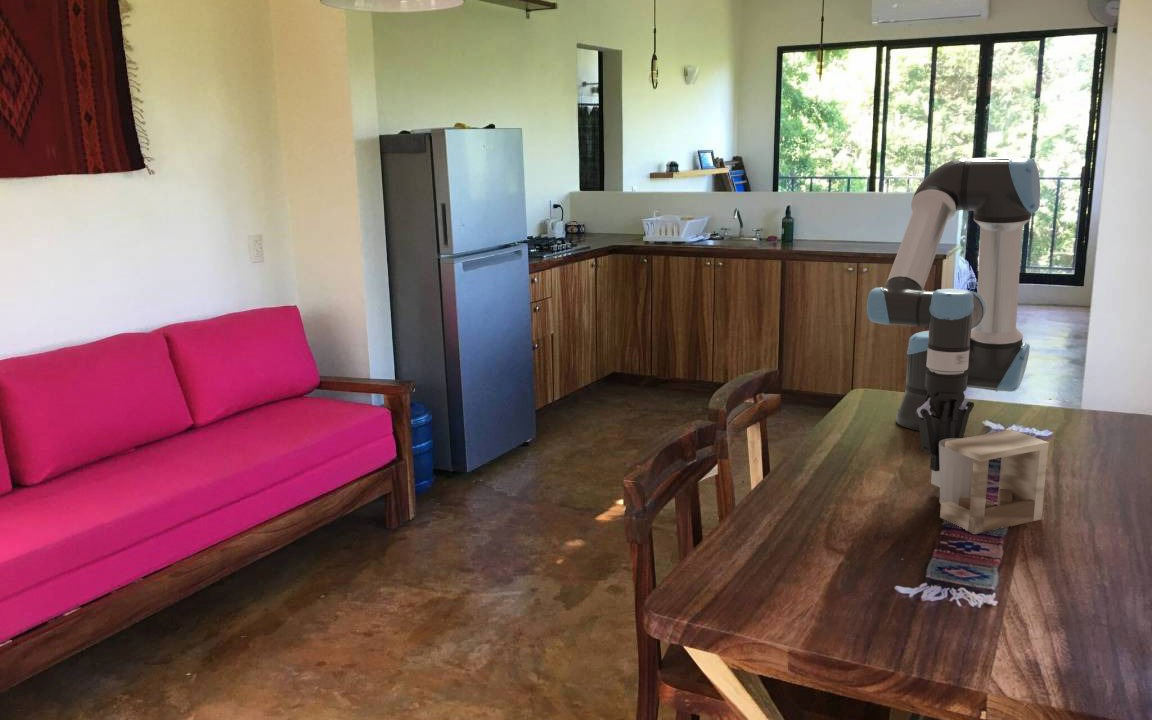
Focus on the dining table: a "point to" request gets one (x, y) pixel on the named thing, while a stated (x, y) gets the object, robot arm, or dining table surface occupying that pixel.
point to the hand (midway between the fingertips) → (938, 484)
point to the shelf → (1000, 481)
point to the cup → (954, 474)
